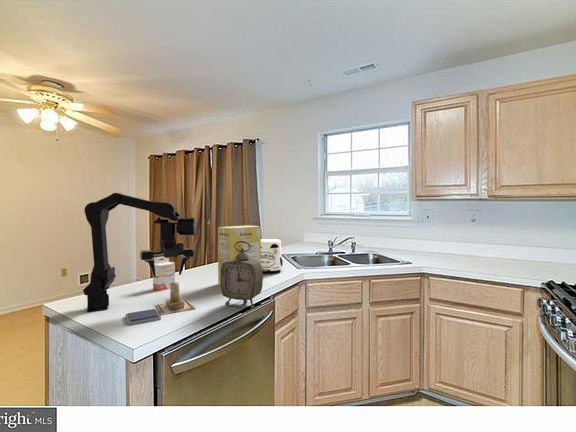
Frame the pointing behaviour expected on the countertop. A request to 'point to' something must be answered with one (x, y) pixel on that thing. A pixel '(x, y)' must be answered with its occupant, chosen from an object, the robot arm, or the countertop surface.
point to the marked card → (165, 310)
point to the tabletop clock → (241, 277)
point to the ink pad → (142, 316)
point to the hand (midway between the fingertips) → (167, 276)
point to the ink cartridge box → (163, 273)
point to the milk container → (271, 255)
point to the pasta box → (233, 235)
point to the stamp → (174, 297)
